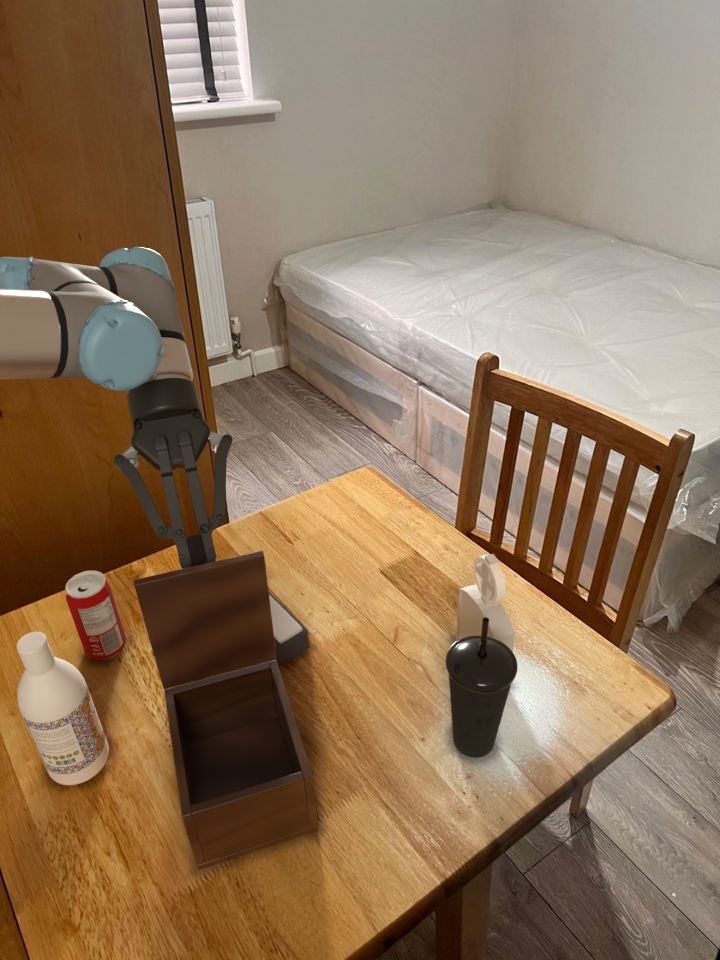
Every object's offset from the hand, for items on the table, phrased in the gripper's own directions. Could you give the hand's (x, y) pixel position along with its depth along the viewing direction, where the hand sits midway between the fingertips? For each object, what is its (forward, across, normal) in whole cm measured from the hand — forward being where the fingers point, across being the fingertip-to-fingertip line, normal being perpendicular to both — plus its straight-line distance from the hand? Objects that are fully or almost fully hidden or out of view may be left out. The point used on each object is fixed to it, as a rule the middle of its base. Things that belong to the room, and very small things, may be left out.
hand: (206, 597), depth 77 cm
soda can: (+2, -14, +28) cm, 31 cm away
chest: (+21, 0, +9) cm, 23 cm away
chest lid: (+3, 0, 0) cm, 3 cm away
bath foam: (+14, -18, +16) cm, 28 cm away
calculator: (+8, +3, +23) cm, 24 cm away
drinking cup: (+24, +27, +6) cm, 36 cm away
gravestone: (+16, +33, +14) cm, 39 cm away
